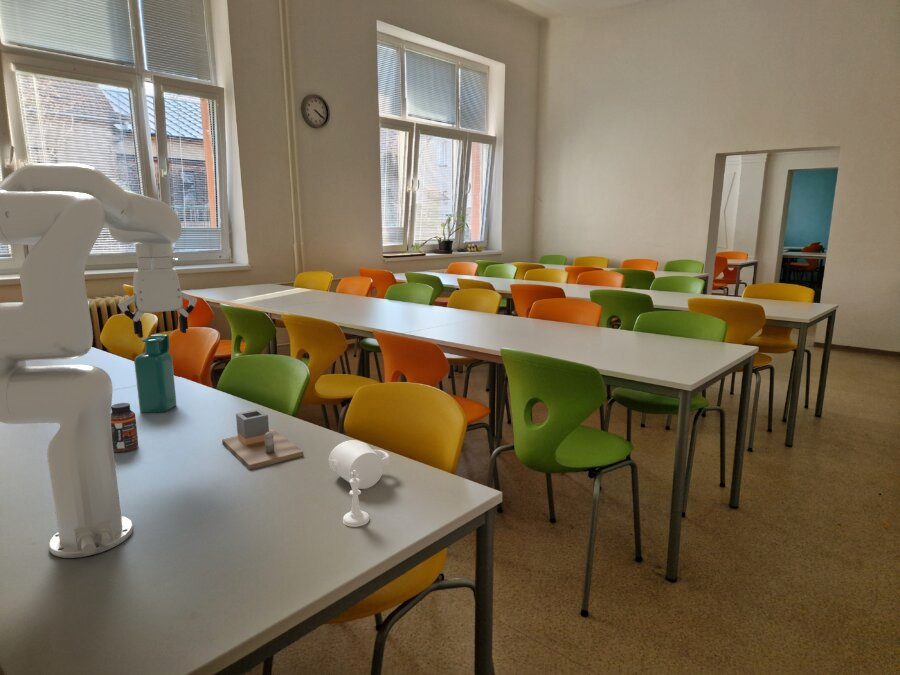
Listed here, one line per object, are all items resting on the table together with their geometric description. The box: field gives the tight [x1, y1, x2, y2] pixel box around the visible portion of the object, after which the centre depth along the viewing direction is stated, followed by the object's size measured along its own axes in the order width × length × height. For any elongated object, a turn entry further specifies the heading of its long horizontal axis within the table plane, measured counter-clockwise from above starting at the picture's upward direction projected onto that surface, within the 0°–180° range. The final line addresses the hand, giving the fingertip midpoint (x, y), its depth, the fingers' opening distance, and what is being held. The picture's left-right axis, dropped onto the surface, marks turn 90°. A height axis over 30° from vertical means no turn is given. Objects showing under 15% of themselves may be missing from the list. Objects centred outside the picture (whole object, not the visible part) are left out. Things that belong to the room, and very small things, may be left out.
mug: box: [327, 439, 391, 490], centre depth 125 cm, size 12×9×8 cm
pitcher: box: [133, 333, 177, 413], centre depth 172 cm, size 10×8×22 cm
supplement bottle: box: [111, 402, 139, 453], centre depth 142 cm, size 6×6×11 cm
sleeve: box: [235, 408, 270, 445], centre depth 145 cm, size 6×6×6 cm
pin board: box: [221, 428, 304, 471], centre depth 141 cm, size 20×13×6 cm, turn 38°
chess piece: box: [342, 470, 370, 528], centre depth 107 cm, size 5×5×10 cm
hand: (162, 334), depth 140 cm, fingers open, 9 cm apart
